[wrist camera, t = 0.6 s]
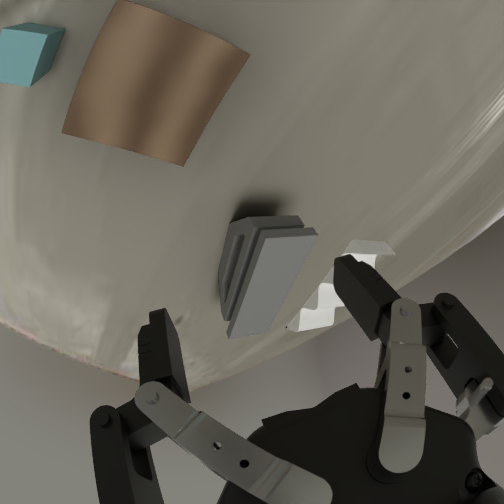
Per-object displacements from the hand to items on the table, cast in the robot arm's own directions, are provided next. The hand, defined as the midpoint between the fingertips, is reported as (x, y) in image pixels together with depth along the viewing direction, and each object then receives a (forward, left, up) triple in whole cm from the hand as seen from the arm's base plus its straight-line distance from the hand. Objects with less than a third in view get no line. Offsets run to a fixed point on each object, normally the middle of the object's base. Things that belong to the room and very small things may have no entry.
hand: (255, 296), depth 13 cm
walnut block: (-4, +2, -28) cm, 28 cm away
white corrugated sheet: (+56, -27, -28) cm, 68 cm away
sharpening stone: (+22, -19, -28) cm, 40 cm away
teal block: (-18, +2, -27) cm, 33 cm away
